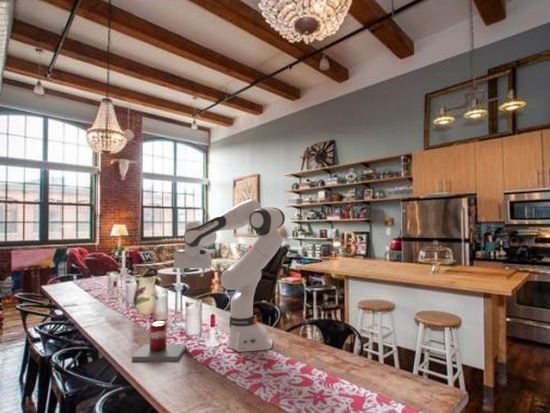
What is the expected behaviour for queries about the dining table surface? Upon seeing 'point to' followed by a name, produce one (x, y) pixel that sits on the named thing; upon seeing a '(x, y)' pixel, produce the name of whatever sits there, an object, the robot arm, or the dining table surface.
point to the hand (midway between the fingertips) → (192, 276)
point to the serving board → (160, 353)
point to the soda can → (158, 336)
